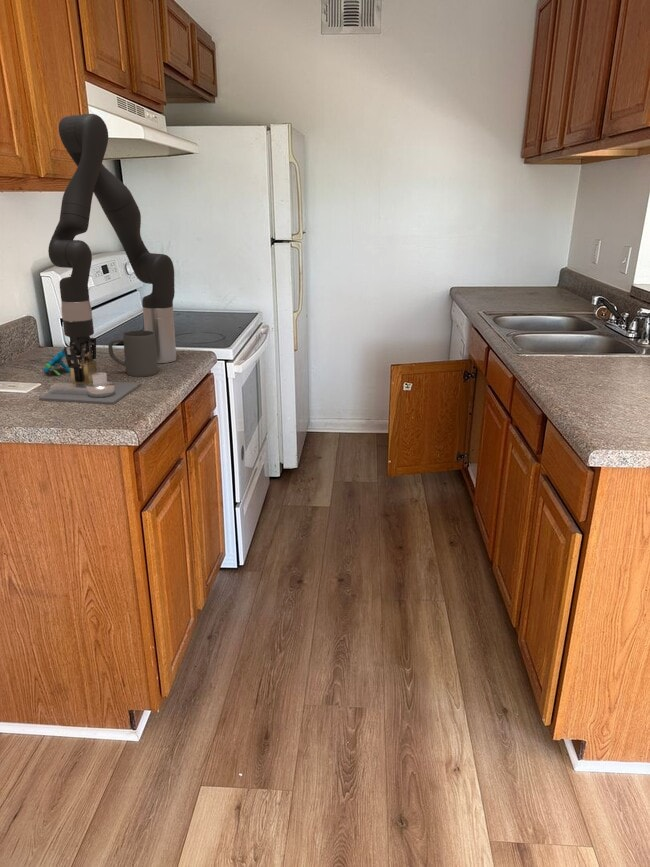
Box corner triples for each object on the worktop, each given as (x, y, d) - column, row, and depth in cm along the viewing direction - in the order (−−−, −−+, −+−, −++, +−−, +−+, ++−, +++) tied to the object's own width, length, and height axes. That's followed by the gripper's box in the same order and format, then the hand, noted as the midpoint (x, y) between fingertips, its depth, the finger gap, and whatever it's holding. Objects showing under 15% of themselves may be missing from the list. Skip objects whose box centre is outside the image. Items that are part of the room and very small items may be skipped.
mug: (159, 369, 196) (156, 330, 192) (156, 376, 188) (153, 336, 183) (113, 369, 194) (109, 330, 190) (108, 377, 186) (104, 336, 182)
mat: (73, 381, 181) (73, 379, 181) (141, 385, 179) (141, 383, 179) (39, 400, 164) (38, 397, 164) (113, 404, 162) (113, 402, 162)
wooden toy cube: (80, 380, 180) (78, 359, 178) (97, 381, 180) (95, 360, 178) (72, 385, 175) (69, 363, 173) (89, 386, 175) (87, 364, 173)
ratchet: (61, 387, 173) (58, 368, 171) (119, 391, 171) (117, 371, 169) (47, 395, 166) (44, 374, 164) (108, 398, 164) (106, 378, 163)
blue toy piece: (55, 361, 196) (71, 340, 192) (70, 374, 197) (87, 354, 193) (34, 375, 186) (51, 353, 182) (50, 389, 188) (67, 368, 183)
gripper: (77, 312, 178) (83, 371, 184) (50, 321, 165) (58, 385, 171) (102, 313, 177) (108, 373, 183) (77, 322, 164) (85, 386, 170)
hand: (84, 378), depth 177 cm, fingers closed on wooden toy cube, 5 cm apart
